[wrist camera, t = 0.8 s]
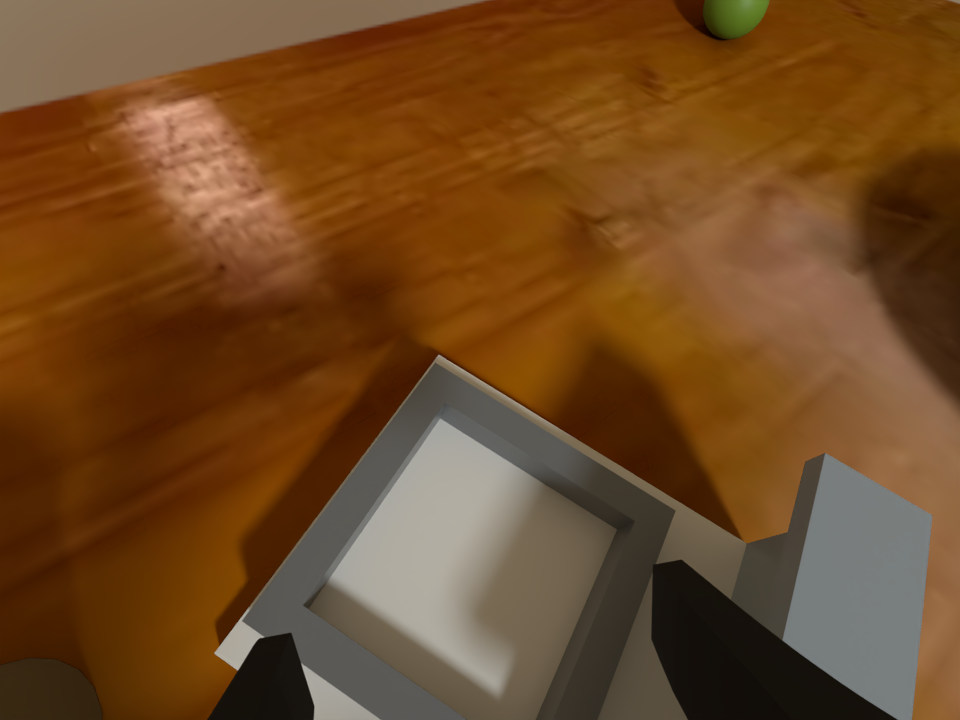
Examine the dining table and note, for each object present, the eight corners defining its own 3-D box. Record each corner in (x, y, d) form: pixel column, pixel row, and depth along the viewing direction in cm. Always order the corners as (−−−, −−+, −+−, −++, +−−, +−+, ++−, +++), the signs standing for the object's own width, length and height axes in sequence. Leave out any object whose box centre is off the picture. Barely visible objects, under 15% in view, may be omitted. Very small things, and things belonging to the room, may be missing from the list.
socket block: (641, 956, 19) (861, 1209, 11) (220, 653, 21) (116, 656, 13) (752, 557, 27) (932, 515, 18) (436, 363, 29) (464, 242, 20)
